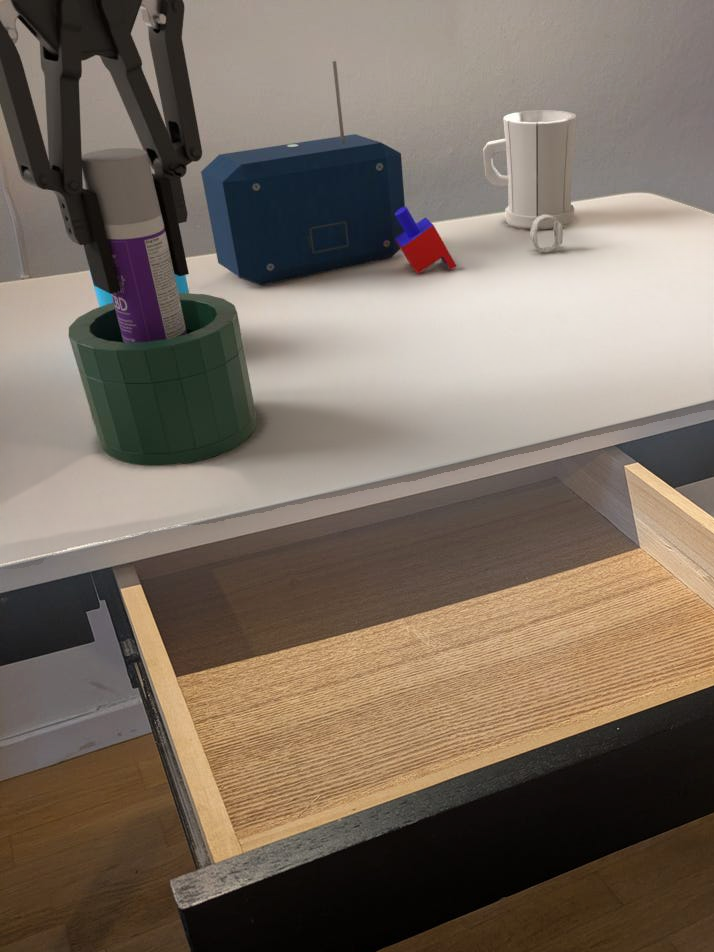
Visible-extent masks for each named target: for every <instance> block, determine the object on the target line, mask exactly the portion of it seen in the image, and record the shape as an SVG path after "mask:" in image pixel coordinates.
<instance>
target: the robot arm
mask: <svg viewBox="0 0 714 952" xmlns="http://www.w3.org/2000/svg"><path fill="white" fill-rule="evenodd" d="M139 11H140V12H141V15H142V16H141V17H142V21H143V23H144V25H145V26H146V27H147V28H148V29H147V30H148V31H147V32H148V42H149V48H150V53H151V58H152V64H153V69H154V73H155V78H156V82H157V88H158V93H159V98H160V104H161V108H162V113H163V117H162V114H161V112H160V110H159V107H158V104H157V102H156V100H155V97H154V95H153V92H152V90H151V88H150V85H149V83H148V80H147V77H146V75H145V72H144V71H143V67H142V66H143V60H142V58H141V54H140V53H139V50H138V48H137V45H136V43H135V40H134V38H133V35H132V31H133V28H134V26H135V23H136V20H137V18H138V14H139ZM184 18H185V3H184V0H0V108H1V112H2V115H3V119H4V123H5V126H6V129H7V132H8V136H9V141H10V143H11V146H12V151H13V154H14V157H15V161H16V164H17V167H18V170H19V174H20V177H21V179H22V181H24V183H26V184H28V185H31V186H33V187H36V188H38V189H41V190H46V191H47V190H48V191H52V192H53V193H54V194H55V196H56V198H57V202H58V206H59V209H60V213H61V216H62V219H63V220H62V221H63V223H64V228H65V231H66V235H67V236H68V238H69V240H70V241H71V242H72V243H74V244H77V245H79V246H83V250H84V253H85V256H86V261H87V264H88V269H89V268H90V270H89V273H90V272H91V274H90V277H91V276H92V278H91V281H92V280H93V282H92V285H93V284H94V285H93V287H94V286H96V287H98V288H100V289H102V290H104V291H106V292H108V293H110V294H112V293H116V292H120V288H119V284H118V280H117V276H116V272H115V268H114V263H113V259H112V255H111V251H110V247H109V243H108V239H107V235H106V231H105V227H104V223H103V219H102V215H101V211H100V207H99V203H98V199H97V195H96V193H94V192H92V191H89V190H86V188H83V187H84V183H83V181H84V179H83V173H82V155H83V153H82V130H81V129H82V128H81V127H82V126H81V102H80V100H81V99H80V80H81V78H82V75H83V74H82V73H83V64H82V63H83V61H86V60H89V59H91V58H93V57H95V56H97V57H100V59H101V63H102V64H103V65H104V68H105V69H106V70H108V72H109V74H110V76H111V78H112V80H113V83H114V85H115V87H116V89H117V92H118V95H119V96H120V99H121V101H122V104H123V106H124V108H125V111H126V112H127V115H128V118H129V119H130V122H131V125H132V127H133V129H134V131H135V133H136V136H137V138H138V140H139V143H140V145H141V147H142V150H145V151H146V152H147V155H148V159H149V163H150V168H151V170H153V171H154V172H152V176H153V180H154V185H155V189H156V193H157V197H158V202H159V206H160V210H161V214H162V218H163V223H164V227H165V231H166V236H167V241H168V246H169V251H170V255H171V260H172V265H173V270H174V274H175V275H178V276H183V275H186V276H187V275H189V274H190V272H189V266H188V263H187V258H186V253H185V248H184V244H183V238H182V233H181V228H180V224H182V223H186V222H187V221H188V215H189V214H188V209H187V205H186V200H185V194H184V188H183V184H182V183H183V182H182V178H183V177H184V176H185V175H186V173H187V170H188V168H187V167H188V166H189V164H192V163H193V162H195V163H196V162H198V161H200V160H201V159H202V156H203V147H202V142H201V139H200V138H201V137H200V131H199V125H198V121H197V115H196V107H195V103H194V99H193V93H192V92H193V91H192V87H191V82H190V76H189V70H188V65H187V59H186V53H185V48H184V43H183V29H184V20H185V19H184ZM17 19H18V20H19V21H20V22H21V24H22V25H23V26H24V27H25V28H26V29H27V30H28V31H29V33H31V34H32V35H33V36H34V37H35V38H36V40H37V41H38V42H39V52H40V53H39V55H40V68H41V71H42V72H43V75H44V92H45V93H44V94H45V112H46V113H45V114H46V133H47V149H48V151H47V149H46V145H45V141H44V137H43V134H42V131H41V126H40V124H39V119H38V115H37V113H36V112H37V111H36V109H35V105H34V101H33V98H32V94H31V90H30V86H29V83H28V78H27V75H26V72H25V67H24V64H23V61H22V58H21V55H20V52H19V50H18V48H17V46H16V43H17V42H18V40H19V32H18V30H17V27H16V26H17V25H16V21H17ZM47 152H48V153H47Z"/></svg>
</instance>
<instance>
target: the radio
mask: <svg viewBox="0 0 714 952" xmlns="http://www.w3.org/2000/svg"><path fill="white" fill-rule="evenodd" d="M332 70H333V78H334V87H335V97H336V106H337V116H338V125H339V134H340V135H339V136H334V137H333V136H332V137H327V138H320V139H313V140H306V141H300V142H293V143H287V144H280V145H274V146H267V147H266V146H265V147H261V148H253V149H247V150H239V151H234V152H233V151H232V152H227V153H226V152H225V153H221V154H220V153H219V154H218V155H217V156H216V157H214V159H213V160H212V161H210V162H209V164H207V165H206V166H205V167H204V168H203V169H202V170H201V171H200V175H201V179H202V184H203V190H204V195H205V200H206V201H205V202H206V206H207V211H208V216H209V221H210V226H211V231H212V238H213V243H214V248H215V253H216V254H215V255H216V259H217V264H219V265H220V266H221V267H224V268H225V269H226V270H228V271H230V272H231V273H232V274H234V275H235V276H237V277H239V278H241V279H243V280H246V281H250V283H251V282H252V283H254V284H257V285H260V286H265V285H270V284H274V283H279V282H284V281H289V280H294V279H299V278H302V277H307V276H313V275H317V274H322V273H327V272H331V271H335V270H340V269H346V268H349V267H354V266H355V267H356V266H360V265H364V264H370V263H375V262H379V261H383V260H388V259H392V258H393V257H394V256H395V255H396V254H397V253H398V252H399V251H401V249H400V247H399V245H398V244H397V242H396V240H395V238H397V237H398V236H399V235H401V234H402V233H404V232H405V231H404V229H403V228H402V226H401V224H400V223H399V221H398V219H397V218H396V216H395V213H396V211H397V210H399V209H400V208H402V207H406V204H405V203H406V202H405V190H404V189H405V188H404V175H403V162H402V161H403V160H402V153H401V152H400V151H398V150H396V149H394V148H392V147H390V146H388V145H387V144H385V143H383V142H382V141H378V140H375V139H372V138H368V137H366V136H362V135H359V134H357V133H356V134H355V133H354V134H347V135H345V133H344V124H343V123H344V122H343V113H342V104H341V103H342V102H341V94H340V84H339V83H340V82H339V75H338V66H337V60H335V61H332Z"/></svg>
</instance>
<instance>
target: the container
mask: <svg viewBox="0 0 714 952" xmlns="http://www.w3.org/2000/svg"><path fill="white" fill-rule="evenodd" d="M152 173H153V172H152V167H151V166H150V163H149V159H148V155H147V152H146V151H145V150H143V148H142V149H141V148H134V147H118V148H117V147H116V148H107V149H100V150H94V151H90V152H86V153H84V154H82V178H83V181H84V185H85V189H86V190H89V191H92V192H94V193H96V195H97V199H98V203H99V207H100V211H101V215H102V219H103V223H104V227H105V231H106V235H107V239H108V243H109V247H110V251H111V255H112V259H113V263H114V268H115V272H116V276H117V280H118V284H119V288H120V292H116V293H112V298H113V302H114V306H115V310H116V314H117V318H118V322H119V326H120V330H121V334H122V338H123V342H125V343H130V342H150V341H157V340H164V339H170V338H174V337H178V336H182V335H186V334H187V332H186V327H185V322H184V317H183V313H182V308H181V303H180V298H179V294H178V289H177V284H176V279H175V274H174V270H173V265H172V260H171V255H170V251H169V246H168V241H167V236H166V231H165V227H164V223H163V218H162V214H161V210H160V206H159V202H158V197H157V193H156V189H155V185H154V180H153V176H152Z"/></svg>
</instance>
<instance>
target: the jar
mask: <svg viewBox="0 0 714 952" xmlns="http://www.w3.org/2000/svg"><path fill="white" fill-rule="evenodd" d="M178 294H179V298H180V303H181V308H182V313H183V317H184V322H185V327H186V332H187V334H186V335H182V336H178V337H174V338H170V339H164V340H157V341H150V342H130V343H125V342H123V338H122V334H121V330H120V326H119V322H118V318H117V314H116V310H115V306H114V302H113V303H110V304H107V305H104V306H101V307H99V306H98V307H95V308H94V309H91V310H88V311H87V312H86V313H84V314H82V315H80V316H78V317H77V318H76V319H75V320H74V321H73V322H72V323H71V324H70V325H69V326H68V338H69V343H70V346H71V349H72V352H73V356H74V360H75V363H76V366H77V369H78V373H79V376H80V379H81V383H82V386H83V391H84V394H85V397H86V401H87V403H88V407H89V411H90V414H91V417H92V421H93V424H94V427H95V431H96V434H97V437H98V438H99V441H100V445H101V447H102V450H103V451H104V452H105V453H106V454H107V455H108V456H110V457H111V458H113V459H115V460H118V461H120V462H123V463H127V464H131V465H137V466H138V465H139V466H149V467H150V466H151V467H152V466H153V467H154V466H155V467H157V466H173V465H181V464H188V463H193V462H197V461H201V460H205V459H209V458H212V457H215V456H218V455H221V454H223V453H225V452H228V451H230V450H232V449H234V448H235V447H238V446H239V445H241V444H242V443H243V442H245V441H246V440H247V439H248V438H250V437H251V435H252V434H253V433H254V431H255V430H256V427H257V423H258V422H257V415H256V406H255V402H254V401H255V400H254V395H253V390H252V385H251V379H250V373H249V367H248V363H247V358H246V352H245V346H244V342H243V337H242V330H241V325H240V321H239V320H240V319H239V314H238V311H237V309H236V305H235V304H234V303H231V302H230V301H228V300H227V299H225V298H222V297H219V296H214V295H210V294H204V293H203V294H202V293H191V292H189V293H178Z"/></svg>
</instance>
